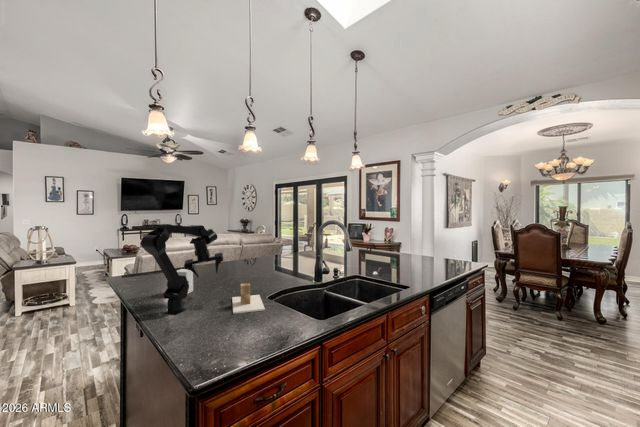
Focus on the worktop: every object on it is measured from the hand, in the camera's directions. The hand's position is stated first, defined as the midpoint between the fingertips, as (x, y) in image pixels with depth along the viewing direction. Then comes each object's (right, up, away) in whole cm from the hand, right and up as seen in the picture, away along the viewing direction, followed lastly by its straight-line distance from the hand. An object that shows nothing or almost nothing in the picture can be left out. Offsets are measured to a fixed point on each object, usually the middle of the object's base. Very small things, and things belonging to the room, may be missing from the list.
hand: (207, 275), depth 146 cm
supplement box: (-17, -12, +9) cm, 23 cm away
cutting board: (+24, -12, -10) cm, 28 cm away
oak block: (+23, -11, -10) cm, 27 cm away
